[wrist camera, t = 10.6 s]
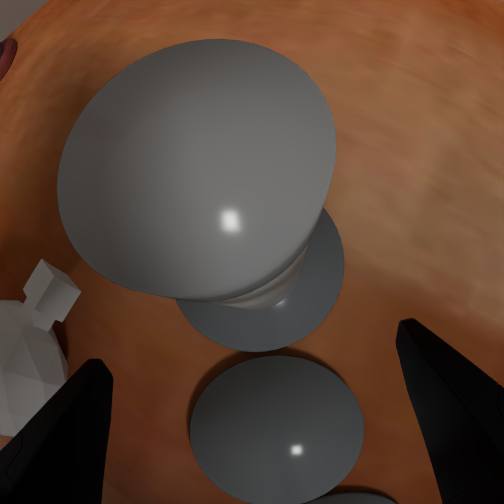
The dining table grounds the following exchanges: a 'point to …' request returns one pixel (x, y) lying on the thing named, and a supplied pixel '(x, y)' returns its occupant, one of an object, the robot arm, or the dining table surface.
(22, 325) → the perfume bottle
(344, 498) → the coaster
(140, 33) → the dining table surface
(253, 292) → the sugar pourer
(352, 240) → the dining table surface
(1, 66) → the stacking bear
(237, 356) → the dining table surface
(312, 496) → the coaster mid
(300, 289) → the coaster
